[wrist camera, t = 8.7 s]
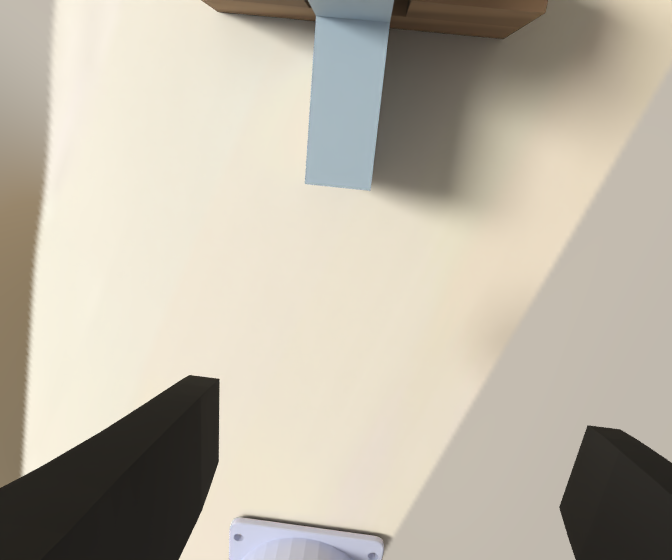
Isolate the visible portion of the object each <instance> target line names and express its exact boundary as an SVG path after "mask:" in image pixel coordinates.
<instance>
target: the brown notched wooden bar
mask: <svg viewBox="0 0 672 560" xmlns="http://www.w3.org/2000/svg"><path fill="white" fill-rule="evenodd" d="M202 1H203V2H205V3H206V4H207V5H209V6H210V7H212V8H213V9H215V10H216V11H217V12H226V13H237V14H247V15H258V16H268V17H279V18H289V19H300V20H310V21H316V15H315V13H314V11H313V9H312V7H311V5H310V4H309V2H308V0H202ZM547 3H548V0H394V4H393V9H392V14H391V20H390V27H389V28H394V29H404V30H415V31H425V32H436V33H446V34H457V35H467V36H478V37H488V38H498V39H504V38H506V37H507V36H509V35H510V34H512V33H514V32H515V31H517V30H519V29H520V28H522V27H523V26H525V25H527V24H528V23H530V22H532V21H533V20H535V19H536V18H538V17H540V16H541V15H543V14H545V12H546V7H547Z"/></svg>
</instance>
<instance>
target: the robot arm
mask: <svg viewBox="0 0 672 560" xmlns="http://www.w3.org/2000/svg"><path fill="white" fill-rule="evenodd" d="M218 462H219V379H216V378H208V377H200V376H192V375H189V376H187V377H185V378H184V379H182V380H180V381H179V382H177V383H176V384H174V385H173V386H171V387H170V388H168V389H167V390H165V391H163V392H162V393H160V394H159V395H157V396H156V397H154V398H153V399H151V400H150V401H148V402H147V403H145V404H144V405H142V406H141V407H139V408H138V409H136V410H134V411H133V412H131V413H130V414H128V415H127V416H125V417H123V418H122V419H120V420H119V421H117V422H116V423H114V424H112V425H111V426H109V427H108V428H106V429H105V430H103V431H101V432H100V433H98V434H96V435H95V436H93V437H91V438H89V439H88V440H86V441H84V442H83V443H81V444H79V445H77V446H76V447H74V448H72V449H71V450H69V451H67V452H65V453H64V454H62V455H60V456H59V457H57V458H55V459H53V460H52V461H50V462H48V463H47V464H45V465H43V466H41V467H39V468H38V469H36V470H34V471H32V472H30V473H28V474H26V475H25V476H23V477H21V478H19V479H17V480H15V481H13V482H11V483H9V484H8V485H5V486H3V487H1V488H0V560H179V558H180V556H181V554H182V551H183V549H184V547H185V545H186V543H187V541H188V539H189V537H190V535H191V532H192V530H193V528H194V526H195V524H196V522H197V520H198V518H199V515H200V513H201V511H202V508H203V506H204V503H205V500H206V497H207V494H208V492H209V489H210V486H211V483H212V480H213V477H214V474H215V471H216V468H217V465H218ZM560 511H561V515H562V518H563V521H564V525H565V528H566V531H567V535H568V538H569V541H570V544H571V547H572V550H573V553H574V555H575V559H576V560H672V463H671V462H670V461H668V460H667V459H665V458H664V457H662V456H661V455H659V454H658V453H656V452H655V451H653V450H652V449H651V448H649V447H648V446H646V445H644V444H643V443H641V442H640V441H638V440H637V439H635V438H634V437H632V436H630V435H628V434H627V433H625V432H623V431H622V430H620V429H612V428H604V427H596V426H587V429H586V432H585V435H584V438H583V440H582V443H581V446H580V449H579V452H578V455H577V458H576V461H575V464H574V466H573V469H572V472H571V475H570V478H569V481H568V484H567V487H566V490H565V492H564V495H563V498H562V501H561V504H560ZM240 534H241V535H240ZM383 552H384V542H383V540H382V539H381V538H380V537H377V536H373V535H365V534H358V533H351V532H344V531H336V530H329V529H322V528H314V527H307V526H300V525H293V524H285V523H278V522H271V521H264V520H256V519H249V518H242V517H238V518H235V519H233V520H232V523H231V526H230V538H229V560H382V558H383Z"/></svg>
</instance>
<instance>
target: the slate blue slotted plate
mask: <svg viewBox="0 0 672 560" xmlns="http://www.w3.org/2000/svg"><path fill="white" fill-rule="evenodd" d="M308 2H309V4H310V5H311V7H312V9H313V11H314V13H315V15H316V24H315V39H314V54H313V69H312V85H311V100H310V115H309V130H308V145H307V160H306V175H305V184H310V185H320V186H330V187H339V188H349V189H359V190H369V191H370V190H371V182H372V173H373V165H374V156H375V147H376V139H377V130H378V121H379V113H380V104H381V96H382V87H383V78H384V70H385V61H386V52H387V44H388V35H389V27H390V20H391V14H392V9H393V4H394V0H308Z"/></svg>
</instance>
